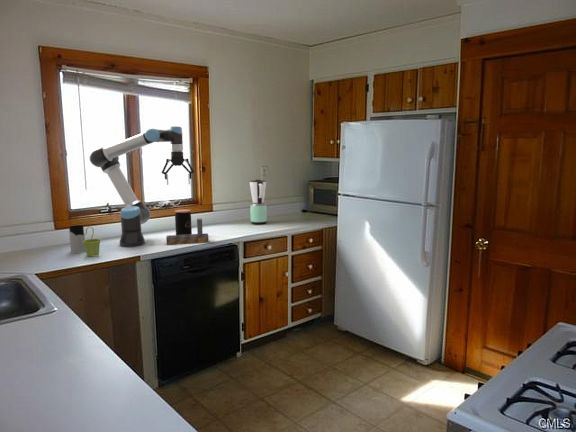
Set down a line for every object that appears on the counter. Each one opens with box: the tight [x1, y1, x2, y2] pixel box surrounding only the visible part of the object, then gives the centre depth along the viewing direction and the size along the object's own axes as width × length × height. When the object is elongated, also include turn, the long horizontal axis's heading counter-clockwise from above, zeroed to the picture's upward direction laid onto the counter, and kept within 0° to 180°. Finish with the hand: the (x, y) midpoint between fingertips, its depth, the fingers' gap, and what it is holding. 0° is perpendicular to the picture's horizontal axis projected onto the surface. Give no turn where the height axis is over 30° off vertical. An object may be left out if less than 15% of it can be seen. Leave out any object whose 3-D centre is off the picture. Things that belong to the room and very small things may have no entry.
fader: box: [196, 218, 204, 235], centre depth 282 cm, size 3×5×11 cm, turn 14°
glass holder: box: [68, 224, 95, 254], centre depth 259 cm, size 9×14×15 cm, turn 138°
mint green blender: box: [249, 179, 268, 226], centre depth 347 cm, size 19×13×35 cm
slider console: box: [165, 232, 210, 246], centre depth 281 cm, size 26×10×4 cm, turn 104°
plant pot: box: [83, 238, 102, 258], centre depth 247 cm, size 9×9×9 cm
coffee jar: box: [174, 208, 193, 235], centre depth 299 cm, size 11×11×18 cm
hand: (178, 184), depth 283 cm, fingers open, 13 cm apart
